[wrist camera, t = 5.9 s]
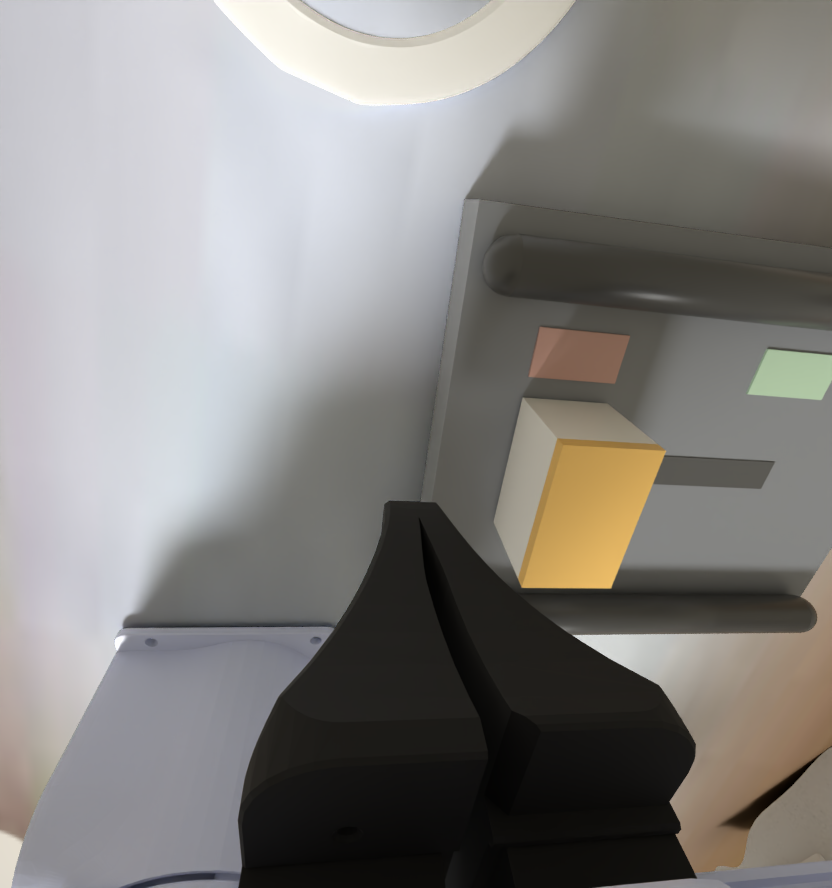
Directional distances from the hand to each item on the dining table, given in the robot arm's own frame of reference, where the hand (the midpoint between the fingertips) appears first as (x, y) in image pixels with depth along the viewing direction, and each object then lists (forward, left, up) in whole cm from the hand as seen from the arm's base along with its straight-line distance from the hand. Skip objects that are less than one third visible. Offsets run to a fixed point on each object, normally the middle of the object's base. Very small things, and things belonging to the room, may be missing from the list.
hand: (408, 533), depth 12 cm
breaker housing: (+10, 0, -6) cm, 12 cm away
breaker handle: (+5, 0, -4) cm, 7 cm away
